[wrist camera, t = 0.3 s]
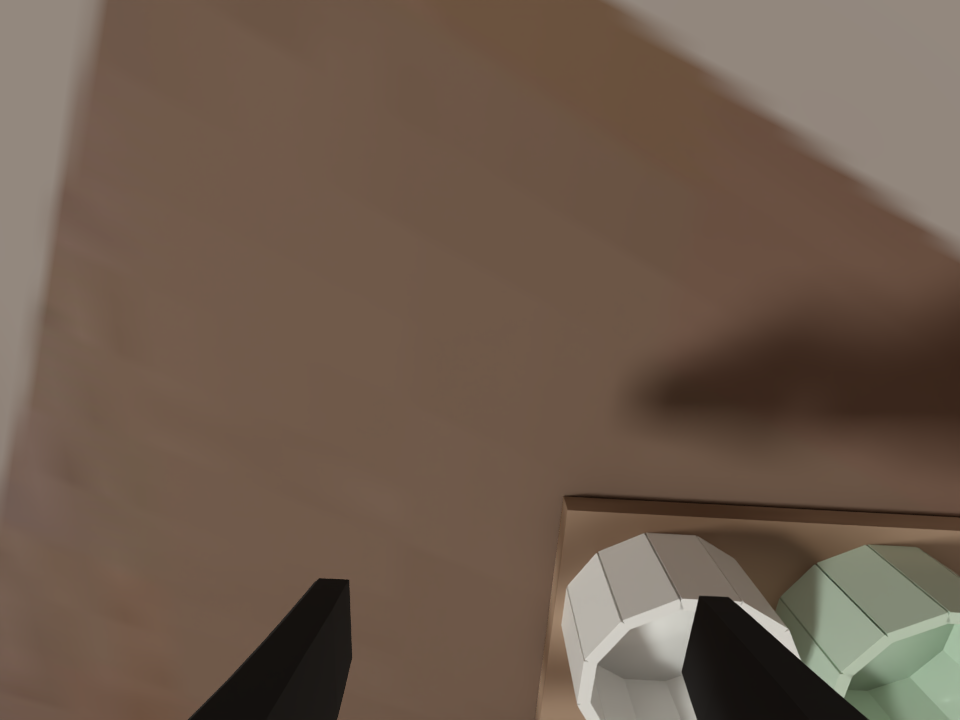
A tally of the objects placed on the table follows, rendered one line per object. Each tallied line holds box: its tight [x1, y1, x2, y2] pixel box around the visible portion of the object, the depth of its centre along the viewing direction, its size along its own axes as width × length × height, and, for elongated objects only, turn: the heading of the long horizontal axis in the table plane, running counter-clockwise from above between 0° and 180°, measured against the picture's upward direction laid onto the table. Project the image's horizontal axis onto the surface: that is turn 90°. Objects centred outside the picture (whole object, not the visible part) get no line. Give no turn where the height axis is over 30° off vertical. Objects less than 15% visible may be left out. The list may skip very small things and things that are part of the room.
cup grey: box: [561, 533, 801, 720], centre depth 18 cm, size 8×8×4 cm
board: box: [535, 496, 960, 720], centre depth 22 cm, size 18×20×1 cm
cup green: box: [775, 544, 960, 720], centre depth 18 cm, size 8×8×4 cm
